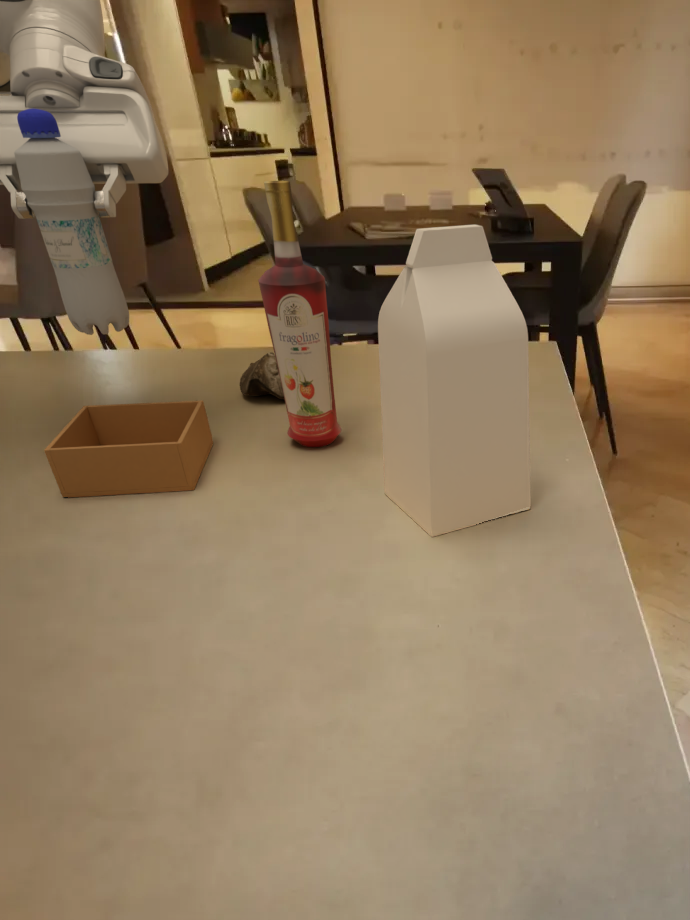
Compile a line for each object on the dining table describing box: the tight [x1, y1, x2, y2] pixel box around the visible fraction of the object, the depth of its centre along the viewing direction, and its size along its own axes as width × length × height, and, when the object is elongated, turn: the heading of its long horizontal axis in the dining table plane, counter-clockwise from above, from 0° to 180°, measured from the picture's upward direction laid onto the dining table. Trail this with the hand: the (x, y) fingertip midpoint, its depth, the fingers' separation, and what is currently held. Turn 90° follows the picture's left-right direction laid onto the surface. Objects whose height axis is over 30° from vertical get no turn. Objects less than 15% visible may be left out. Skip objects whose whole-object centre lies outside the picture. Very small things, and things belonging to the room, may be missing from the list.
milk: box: [377, 224, 532, 538], centre depth 69 cm, size 12×12×26 cm
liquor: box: [257, 180, 343, 448], centre depth 82 cm, size 7×7×28 cm
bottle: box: [14, 108, 130, 336], centre depth 73 cm, size 7×7×20 cm
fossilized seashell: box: [239, 351, 285, 400], centre depth 103 cm, size 8×7×10 cm
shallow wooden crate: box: [43, 399, 214, 498], centre depth 82 cm, size 14×14×6 cm
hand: (65, 213), depth 72 cm, fingers closed on bottle, 6 cm apart
